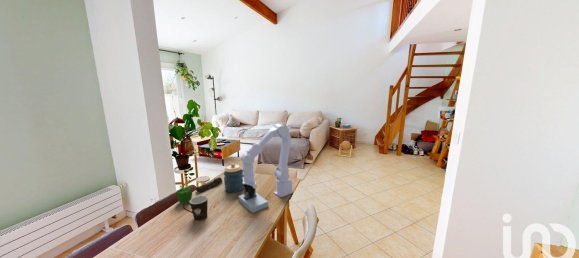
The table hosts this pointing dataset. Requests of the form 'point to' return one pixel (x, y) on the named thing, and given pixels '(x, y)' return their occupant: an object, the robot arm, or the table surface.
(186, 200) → the bell pepper
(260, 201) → the slotted pale blue plate
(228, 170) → the canister
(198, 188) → the hand tool
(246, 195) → the tall dark grey prism
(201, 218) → the coffee mug
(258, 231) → the table surface
